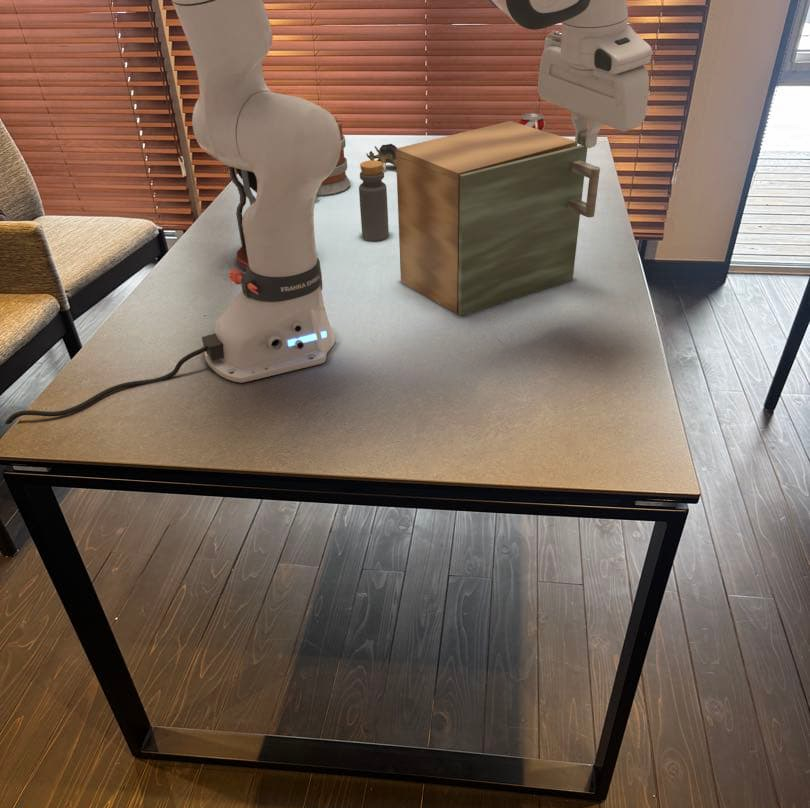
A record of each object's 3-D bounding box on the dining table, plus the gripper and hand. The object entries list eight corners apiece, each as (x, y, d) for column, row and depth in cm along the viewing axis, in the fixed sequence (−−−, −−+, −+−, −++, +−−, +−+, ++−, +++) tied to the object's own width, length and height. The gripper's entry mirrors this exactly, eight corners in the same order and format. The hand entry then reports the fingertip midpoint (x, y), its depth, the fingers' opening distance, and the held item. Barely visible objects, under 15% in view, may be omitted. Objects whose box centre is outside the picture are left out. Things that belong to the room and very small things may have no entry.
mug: (354, 178, 203) (350, 113, 193) (341, 204, 189) (335, 136, 179) (301, 177, 205) (294, 113, 195) (284, 203, 191) (275, 136, 180)
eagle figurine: (367, 170, 204) (400, 163, 201) (364, 141, 203) (398, 134, 201) (376, 178, 211) (408, 172, 209) (373, 150, 210) (406, 144, 208)
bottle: (385, 242, 171) (381, 168, 161) (359, 240, 172) (354, 167, 162) (391, 231, 175) (388, 159, 165) (365, 230, 176) (360, 158, 166)
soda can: (511, 165, 207) (513, 115, 199) (533, 161, 209) (536, 111, 201) (524, 172, 202) (528, 121, 194) (547, 168, 204) (551, 117, 196)
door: (593, 290, 149) (611, 153, 133) (479, 328, 139) (484, 185, 123) (569, 277, 154) (584, 144, 137) (457, 314, 144) (459, 174, 128)
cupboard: (563, 276, 155) (577, 141, 138) (456, 314, 144) (458, 173, 128) (503, 248, 166) (510, 120, 150) (400, 282, 155) (395, 148, 139)
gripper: (529, 32, 116) (527, 131, 126) (625, 63, 104) (614, 171, 114) (562, 22, 118) (558, 120, 128) (661, 51, 105) (647, 158, 116)
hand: (585, 144), depth 121 cm, fingers closed
